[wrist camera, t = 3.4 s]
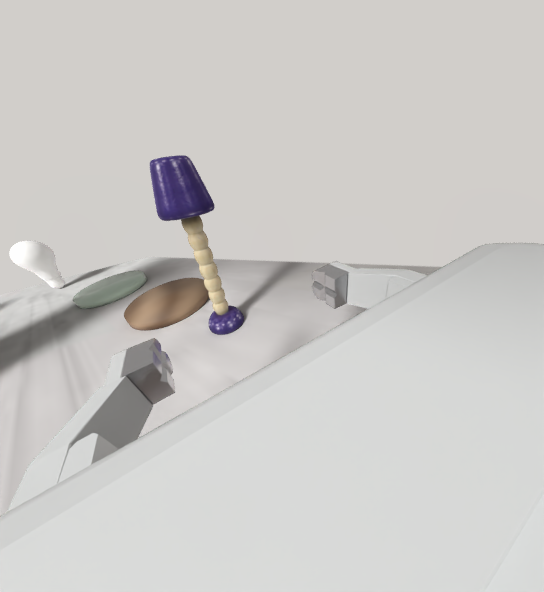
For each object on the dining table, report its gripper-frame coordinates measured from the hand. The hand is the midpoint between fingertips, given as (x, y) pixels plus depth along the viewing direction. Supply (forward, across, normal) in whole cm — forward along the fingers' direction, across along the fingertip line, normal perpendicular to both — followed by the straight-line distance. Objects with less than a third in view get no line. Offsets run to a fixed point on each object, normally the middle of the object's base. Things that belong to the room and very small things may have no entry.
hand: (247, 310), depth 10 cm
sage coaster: (+38, +16, +9) cm, 42 cm away
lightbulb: (+52, +29, +9) cm, 60 cm away
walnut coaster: (+23, +6, +9) cm, 25 cm away
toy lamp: (+12, 0, +9) cm, 15 cm away
